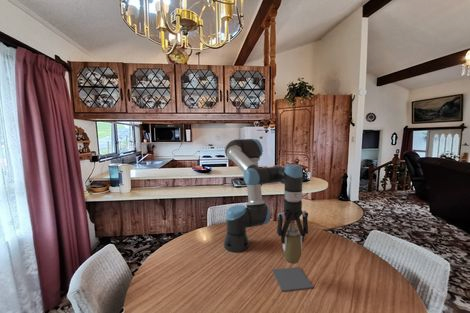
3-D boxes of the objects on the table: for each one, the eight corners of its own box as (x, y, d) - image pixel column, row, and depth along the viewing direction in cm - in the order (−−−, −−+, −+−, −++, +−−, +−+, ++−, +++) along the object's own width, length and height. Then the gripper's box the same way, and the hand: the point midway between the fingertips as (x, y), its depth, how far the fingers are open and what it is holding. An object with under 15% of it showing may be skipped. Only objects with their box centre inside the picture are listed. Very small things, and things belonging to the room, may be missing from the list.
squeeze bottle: (301, 257, 100) (302, 220, 98) (301, 267, 92) (301, 227, 90) (284, 254, 102) (284, 218, 100) (282, 263, 95) (282, 224, 93)
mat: (282, 291, 90) (282, 290, 90) (272, 270, 104) (272, 269, 104) (313, 288, 92) (313, 286, 92) (299, 267, 106) (299, 266, 106)
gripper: (274, 203, 89) (274, 255, 92) (318, 201, 92) (316, 251, 94) (269, 198, 97) (269, 246, 99) (309, 196, 99) (308, 243, 101)
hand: (292, 249), depth 97 cm, fingers closed on squeeze bottle, 6 cm apart
